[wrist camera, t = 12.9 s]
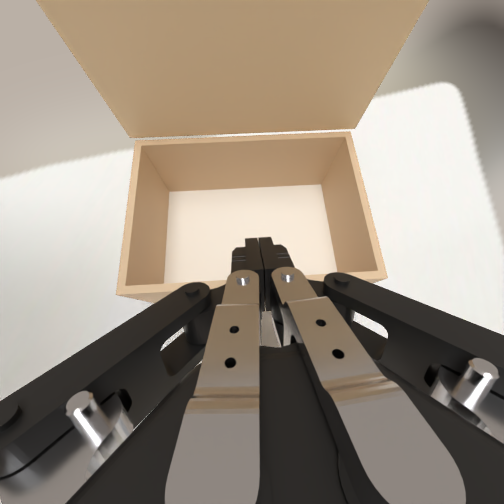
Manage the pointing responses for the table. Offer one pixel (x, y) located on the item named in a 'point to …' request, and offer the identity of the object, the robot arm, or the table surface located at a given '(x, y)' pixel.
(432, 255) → the table surface
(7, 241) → the table surface
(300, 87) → the mailer lid
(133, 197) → the box
